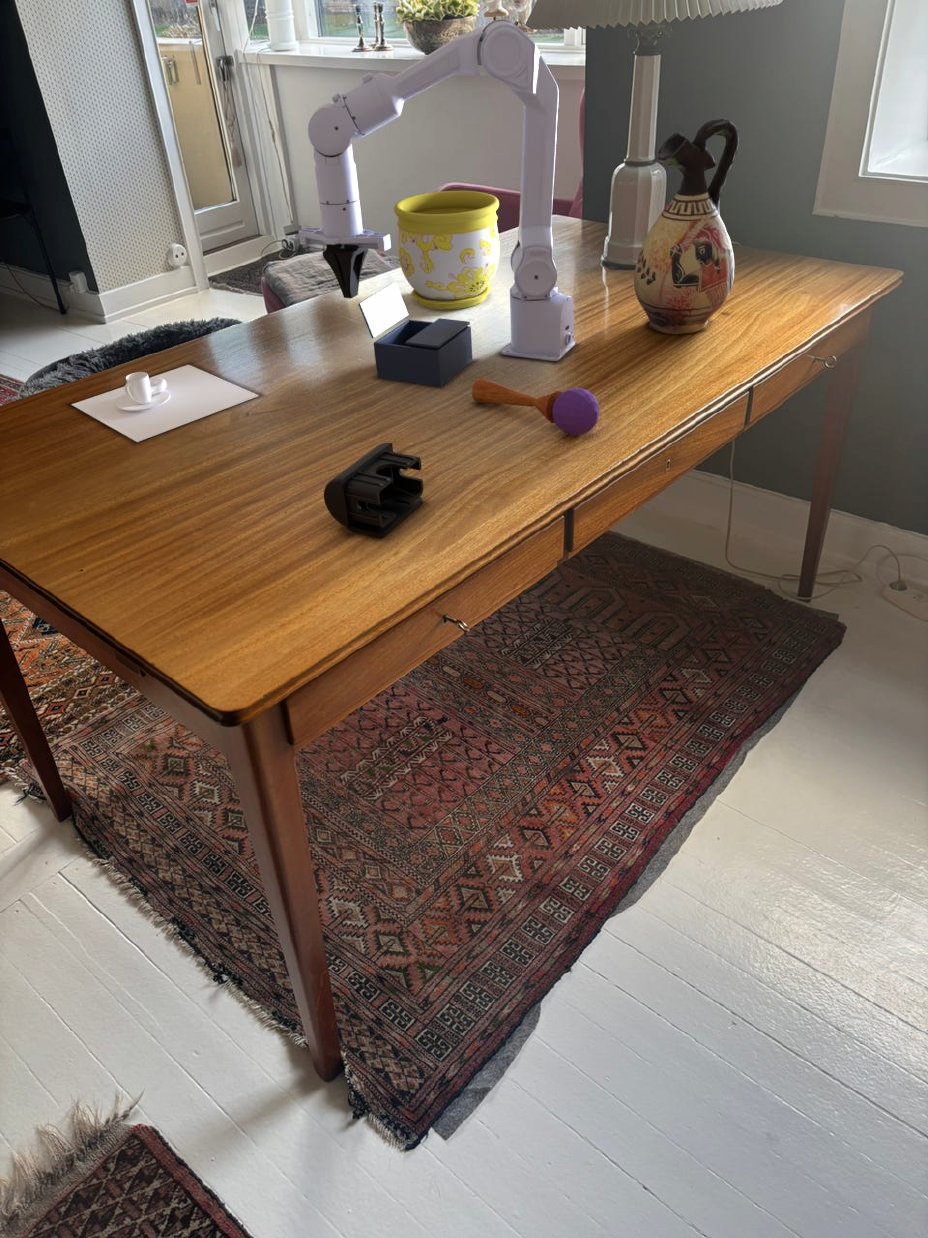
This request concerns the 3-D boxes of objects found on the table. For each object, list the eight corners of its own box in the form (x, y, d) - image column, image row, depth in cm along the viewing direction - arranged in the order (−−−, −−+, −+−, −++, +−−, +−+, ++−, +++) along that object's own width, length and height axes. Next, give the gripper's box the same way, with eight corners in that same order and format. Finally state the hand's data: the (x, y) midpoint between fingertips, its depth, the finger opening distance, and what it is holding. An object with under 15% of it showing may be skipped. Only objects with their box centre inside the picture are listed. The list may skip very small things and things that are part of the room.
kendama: (495, 366, 132) (610, 388, 119) (493, 408, 135) (606, 435, 122) (465, 371, 128) (581, 395, 116) (464, 414, 131) (578, 442, 118)
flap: (373, 338, 138) (371, 338, 138) (408, 314, 145) (406, 315, 145) (359, 303, 135) (357, 303, 136) (396, 281, 143) (394, 281, 143)
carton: (377, 377, 141) (372, 337, 138) (411, 352, 149) (408, 314, 145) (440, 386, 137) (437, 345, 134) (472, 360, 145) (470, 321, 141)
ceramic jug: (657, 347, 145) (673, 133, 128) (616, 317, 157) (625, 117, 140) (755, 331, 149) (784, 120, 131) (708, 303, 161) (728, 106, 143)
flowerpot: (382, 300, 171) (372, 204, 162) (457, 277, 180) (452, 185, 171) (445, 322, 160) (438, 220, 150) (522, 296, 169) (520, 199, 159)
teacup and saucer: (158, 385, 143) (152, 359, 141) (186, 398, 138) (179, 372, 136) (105, 404, 138) (98, 377, 136) (132, 418, 134) (124, 391, 131)
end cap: (376, 489, 113) (370, 437, 109) (426, 500, 110) (422, 448, 106) (327, 528, 106) (318, 474, 102) (379, 541, 103) (373, 487, 99)
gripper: (281, 203, 134) (296, 299, 142) (368, 209, 128) (379, 308, 136) (308, 192, 139) (321, 285, 147) (394, 197, 133) (402, 294, 141)
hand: (350, 296), depth 142 cm, fingers closed
